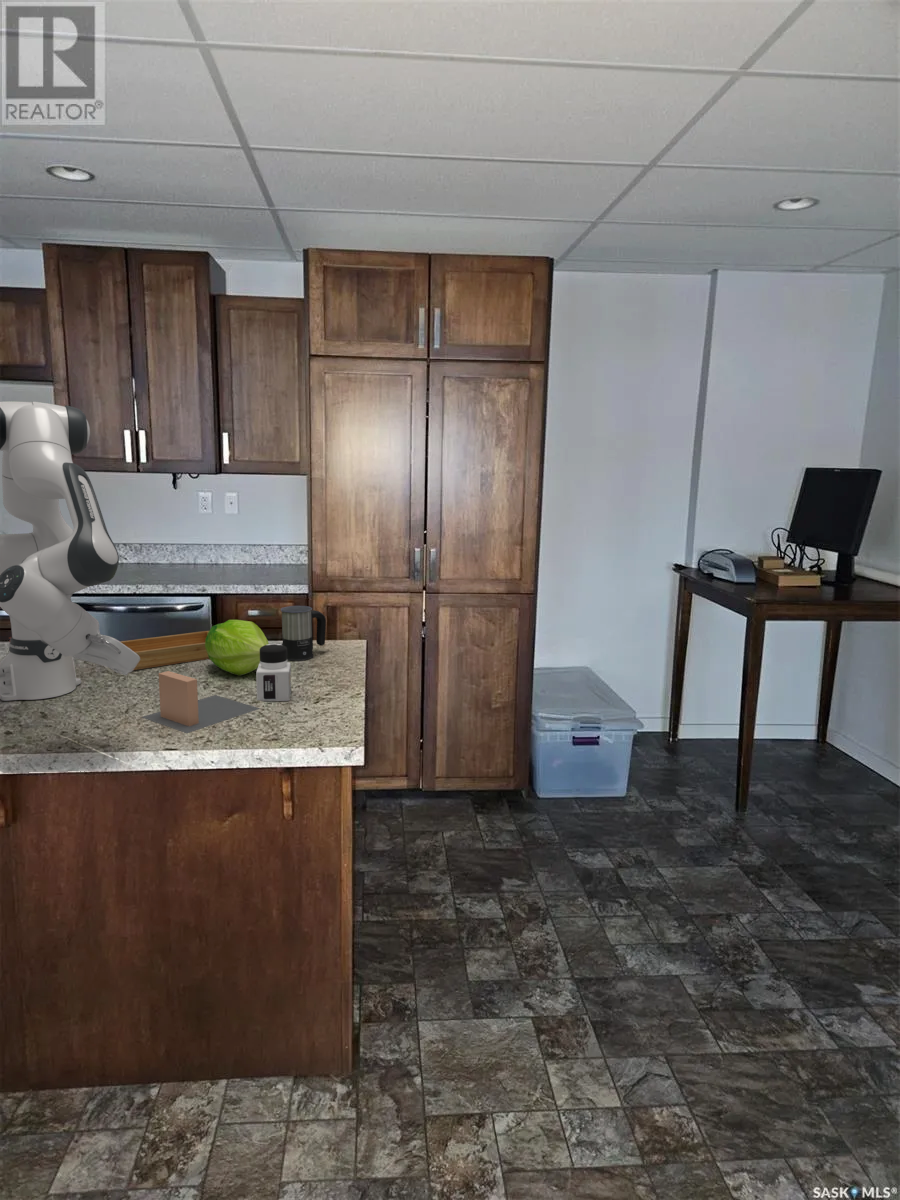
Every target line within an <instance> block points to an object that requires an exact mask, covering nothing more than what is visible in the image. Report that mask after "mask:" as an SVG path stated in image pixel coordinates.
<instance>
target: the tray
mask: <svg viewBox="0 0 900 1200" xmlns="http://www.w3.org/2000/svg"><path fill="white" fill-rule="evenodd" d="M209 631H210V630H203V631H195V632H188V633H187V632H186V633H179V634H171V635H170V634H169V635H163V636H156V637H155V636H154V637H153V636H152V637H145V638H137V639H130V640H128V639H127V640H121V641H120V642H121V643H123V644H124V645H125V646H127V647H128V648H130V649H131V650H132V651H134V652H135V653H136V654H138V655H139V657H140V661H139V663H138V664H137V666H136V667H135V668H134V670H133V671H136V670H144V669H151V668H157V667H163V666H169V665H170V666H171V665H176V664H184V663H190V662H197V661H205V660H210V659H209V657H208V654H207V651H206V648H205V639H206V637H207V634H208V632H209Z"/></svg>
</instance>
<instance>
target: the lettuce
mask: <svg viewBox="0 0 900 1200" xmlns="http://www.w3.org/2000/svg"><path fill="white" fill-rule="evenodd" d="M208 631H209V632H208V634H207V637H206V639H205V648H206V651H207V654H208V657H209V659H208V660H210V661H211V662H212V664H213V665H214V666H216V667H217V668H219V669H220V670H223V671H224V672H227V673H230V674H233V675H234V676H235V675H236V676H243V675H246V674H250V673H252V672H253V671H255V670H257V668H258V665H259V663H260V648H261V647H262V646H264V645H268V644H269V640H268V639H267V637H266V636H265V635H266V634H265V633H264V632H263V630H262V629H261V628H260V627H259V626H258V625H257V624H256V623H255V622H253V621H248V620H241V619H228V620H226V621H225V622H222V623H217V624H215V625H212V626H211V628H210V629H209V630H208Z"/></svg>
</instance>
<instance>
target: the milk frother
mask: <svg viewBox="0 0 900 1200" xmlns="http://www.w3.org/2000/svg"><path fill="white" fill-rule="evenodd" d="M280 611H281V630H282V631H281V632H282V633H281V634H282V643H281V645H284V646H286V648H287V661H294V662H295V661H298V662H300V661H306V660H307V661H308V660H310V659H312V658H314V653H313V649H314V640H313V638H314V637H313V636H314V635H313V633H314V631H313V618H315V619H316V638H315V639H316V644H317V645H318V646H321V647H323V646H325V643H326V629H327V627H326V626H327V619H326V615H325V614H324V613H322V612H321V611H319V610H313V607H311V606H307V605H289V606H285V607H281V608H280Z"/></svg>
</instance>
